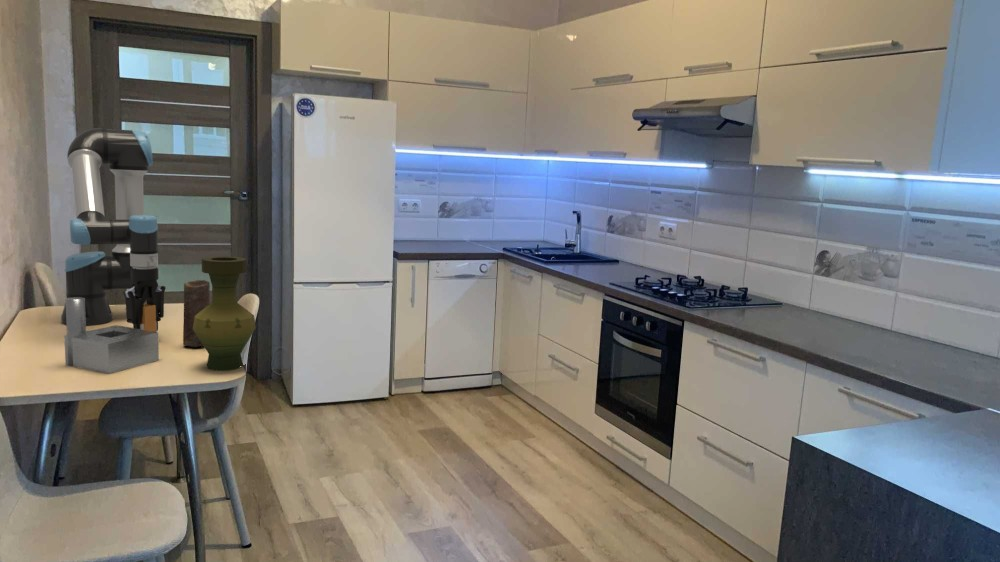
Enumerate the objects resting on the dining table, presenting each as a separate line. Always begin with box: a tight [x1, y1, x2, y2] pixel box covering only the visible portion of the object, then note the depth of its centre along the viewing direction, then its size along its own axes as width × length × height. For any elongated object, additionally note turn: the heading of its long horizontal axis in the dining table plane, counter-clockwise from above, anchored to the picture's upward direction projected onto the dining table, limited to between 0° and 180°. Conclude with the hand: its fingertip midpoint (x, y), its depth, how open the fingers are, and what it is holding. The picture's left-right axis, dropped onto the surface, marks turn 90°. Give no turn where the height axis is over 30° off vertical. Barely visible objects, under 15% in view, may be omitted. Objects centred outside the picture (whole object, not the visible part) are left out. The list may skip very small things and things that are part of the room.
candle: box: [182, 279, 211, 348], centre depth 216 cm, size 8×7×20 cm
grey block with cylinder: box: [63, 297, 160, 375], centre depth 195 cm, size 16×16×18 cm
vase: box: [193, 255, 257, 372], centre depth 197 cm, size 16×16×30 cm
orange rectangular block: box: [141, 303, 156, 332], centre depth 216 cm, size 4×4×12 cm
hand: (146, 343), depth 217 cm, fingers closed on orange rectangular block, 4 cm apart
